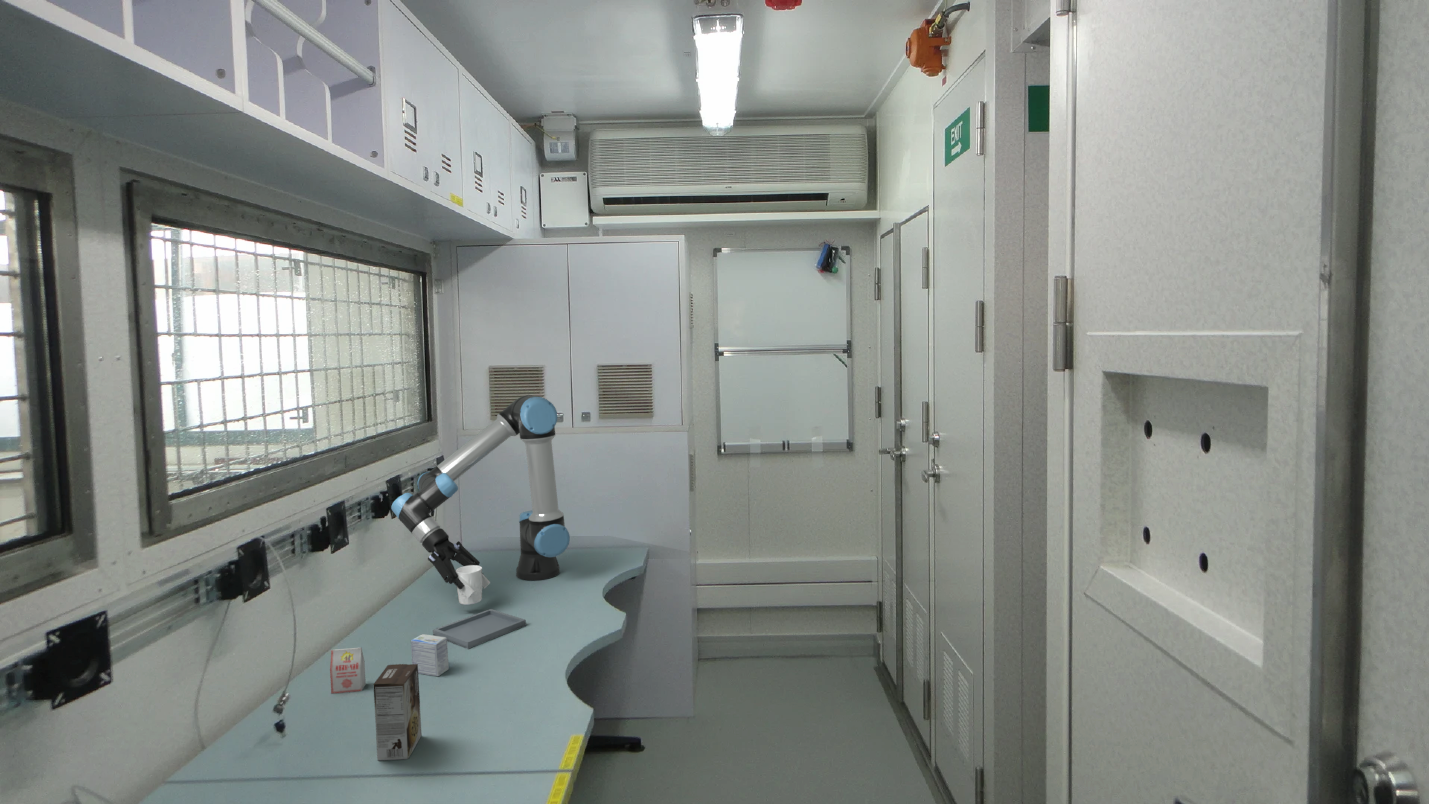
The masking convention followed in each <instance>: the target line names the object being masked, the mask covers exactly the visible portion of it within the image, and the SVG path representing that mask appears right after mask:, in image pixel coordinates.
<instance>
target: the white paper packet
mask: <svg viewBox="0 0 1429 804" xmlns="http://www.w3.org/2000/svg"><path fill="white" fill-rule="evenodd" d="M330 652H331V653H330V665H329V673H330V675H329V676H330V691H331V693H330V694H343V693H354V692H362V691H363V689H364V688H365V686H366V684H367V683H366V664H365V661H366V660H365V657H364V653H363V647H353V648H352V647H350V648H340V649H339V648H337V649H331V650H330Z"/></svg>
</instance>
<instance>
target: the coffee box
mask: <svg viewBox="0 0 1429 804" xmlns="http://www.w3.org/2000/svg"><path fill="white" fill-rule="evenodd" d="M372 686H373V701H374V702H373V703H374V718H375V736H376V737H375V738H376V755H377V757H376V758H377V761H393V760H397V761H398V760H408V759H410V757H411V756H412V753H413V751H414V749H415V748H416V747H417V744H418V743H419V741H420V739H421V737H422V722H421V721H422V719H421V701H420V700H421V699H420V697H421V696H420V681H419V673H418V664H412V663H411V664H407V663H402V664H401V663H399V664H397V663H396V664H388V665H387V666H386V667H385V668H384V669H383V671H382V672H381V673H380V675H379V676H378V678H377V679H376V680H375V682H374V683H373V685H372Z"/></svg>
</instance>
